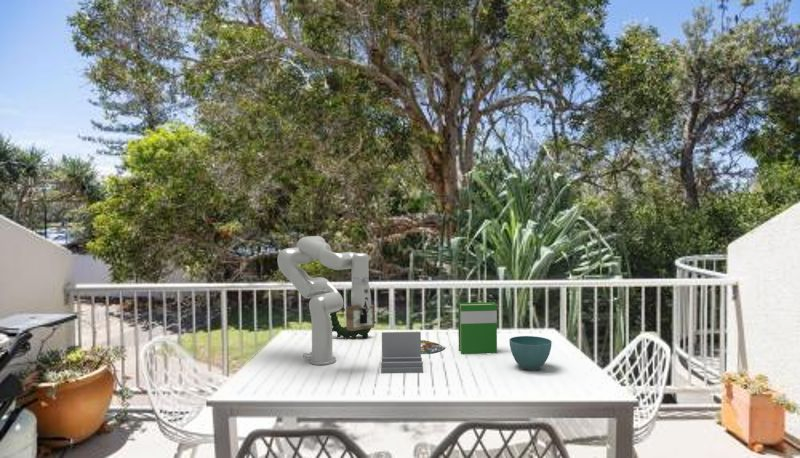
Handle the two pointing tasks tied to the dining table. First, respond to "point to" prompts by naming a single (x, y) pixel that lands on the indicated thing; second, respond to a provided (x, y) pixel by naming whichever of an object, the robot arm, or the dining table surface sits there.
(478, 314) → the hardback book
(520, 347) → the teal bowl
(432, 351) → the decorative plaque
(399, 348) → the display ledge
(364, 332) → the toy figurine
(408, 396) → the dining table surface
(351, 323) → the picture frame
